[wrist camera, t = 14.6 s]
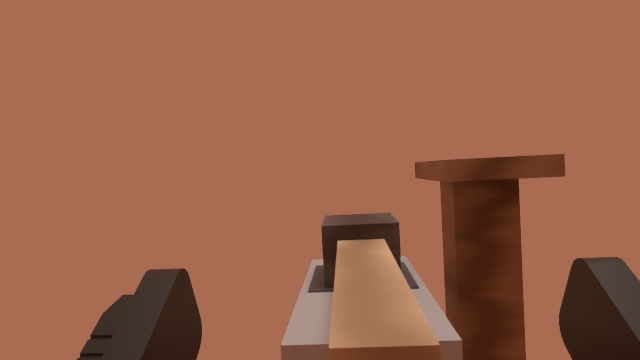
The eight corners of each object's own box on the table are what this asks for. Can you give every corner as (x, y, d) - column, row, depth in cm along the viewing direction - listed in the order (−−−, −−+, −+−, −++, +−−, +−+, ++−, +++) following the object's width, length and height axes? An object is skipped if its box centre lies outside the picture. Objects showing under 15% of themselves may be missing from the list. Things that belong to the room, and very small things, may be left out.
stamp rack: (511, 483, 47) (498, 158, 46) (581, 618, 33) (564, 154, 32) (429, 484, 47) (414, 162, 47) (464, 618, 33) (444, 160, 33)
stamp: (392, 264, 37) (389, 212, 37) (482, 453, 13) (476, 307, 13) (327, 266, 37) (325, 215, 37) (297, 456, 13) (290, 313, 13)
